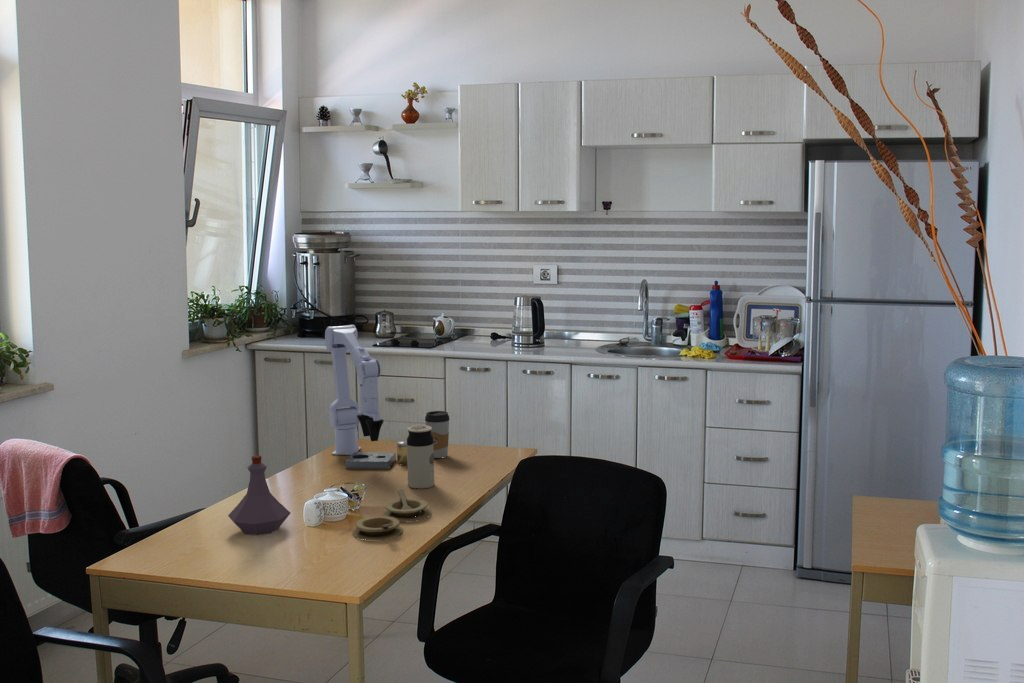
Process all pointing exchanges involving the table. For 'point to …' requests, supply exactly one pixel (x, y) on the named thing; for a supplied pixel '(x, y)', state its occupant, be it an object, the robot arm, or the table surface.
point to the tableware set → (391, 519)
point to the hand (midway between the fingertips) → (370, 438)
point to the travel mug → (420, 457)
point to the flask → (258, 505)
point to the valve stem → (402, 452)
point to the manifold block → (370, 460)
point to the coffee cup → (439, 431)
